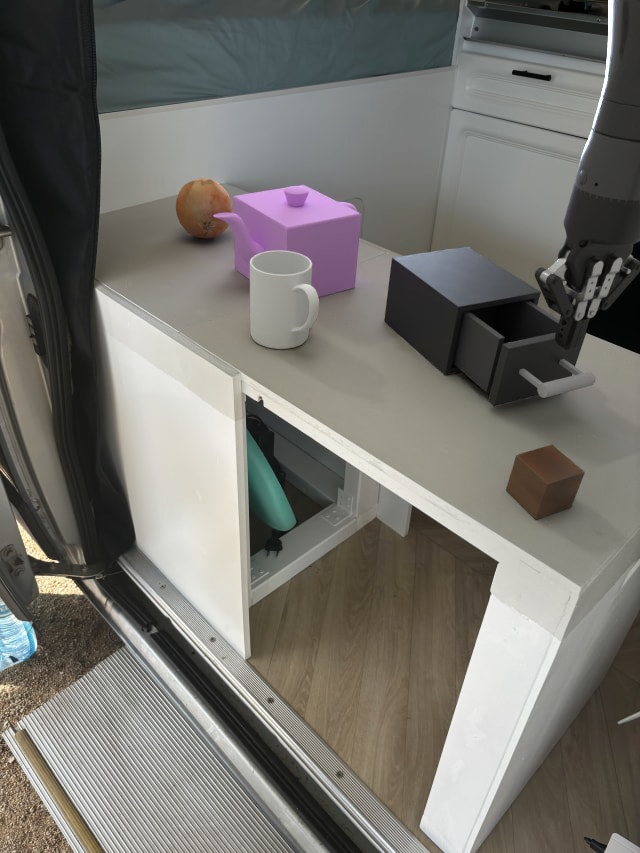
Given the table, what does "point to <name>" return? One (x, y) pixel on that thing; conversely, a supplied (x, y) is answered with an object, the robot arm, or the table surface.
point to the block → (544, 481)
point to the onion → (203, 207)
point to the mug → (281, 299)
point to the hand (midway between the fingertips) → (566, 345)
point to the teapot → (298, 233)
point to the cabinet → (446, 298)
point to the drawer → (516, 353)
